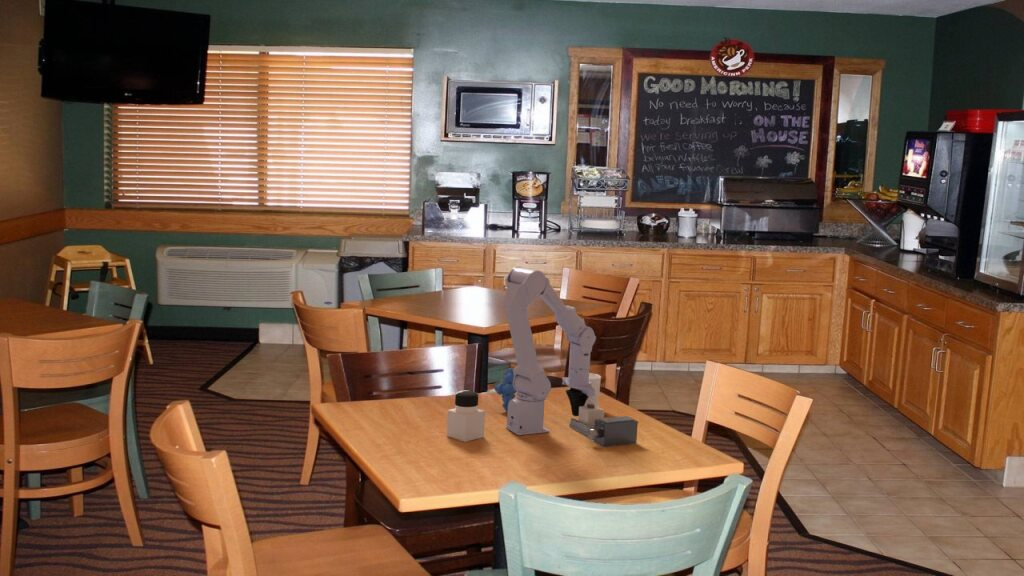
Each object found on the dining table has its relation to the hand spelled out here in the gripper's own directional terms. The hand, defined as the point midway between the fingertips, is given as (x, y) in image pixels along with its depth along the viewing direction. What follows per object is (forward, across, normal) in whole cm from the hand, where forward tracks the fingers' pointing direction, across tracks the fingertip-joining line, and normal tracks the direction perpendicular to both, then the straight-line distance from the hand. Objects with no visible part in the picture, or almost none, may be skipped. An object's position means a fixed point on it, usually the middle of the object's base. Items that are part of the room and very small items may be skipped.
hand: (576, 415), depth 270 cm
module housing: (+2, -13, +1) cm, 13 cm away
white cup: (+2, +12, -10) cm, 15 cm away
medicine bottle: (+2, -2, +35) cm, 35 cm away
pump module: (+1, -7, 0) cm, 8 cm away
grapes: (+2, +19, +13) cm, 23 cm away
